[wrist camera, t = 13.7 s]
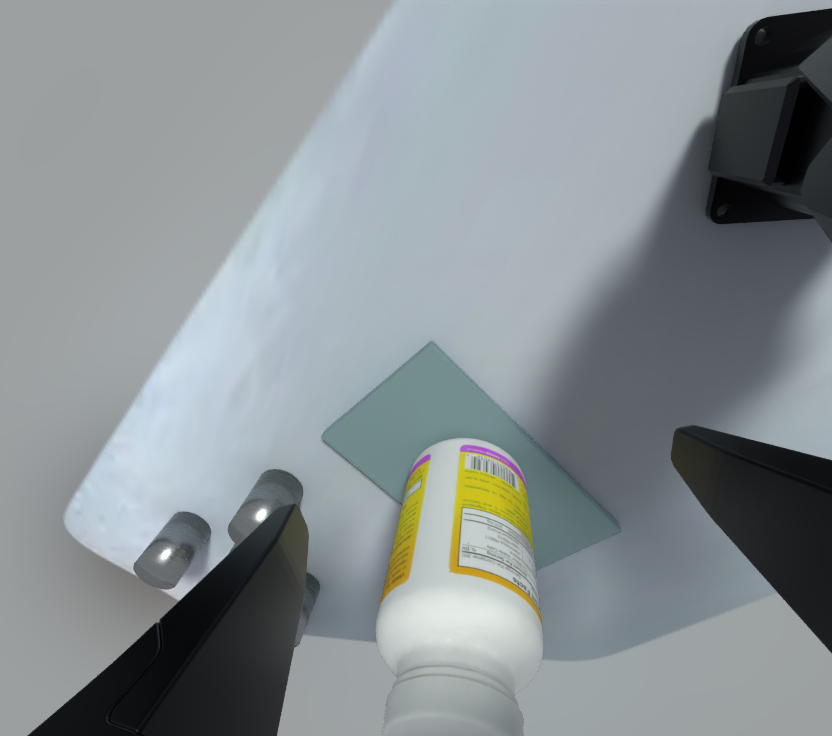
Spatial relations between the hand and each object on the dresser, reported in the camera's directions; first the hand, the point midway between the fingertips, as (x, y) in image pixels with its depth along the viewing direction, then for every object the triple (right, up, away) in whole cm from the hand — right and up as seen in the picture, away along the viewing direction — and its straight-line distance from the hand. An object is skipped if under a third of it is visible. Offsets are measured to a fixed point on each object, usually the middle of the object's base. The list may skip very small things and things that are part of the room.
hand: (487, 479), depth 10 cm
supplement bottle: (+1, -4, +15) cm, 16 cm away
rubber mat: (+2, -4, +16) cm, 16 cm away
